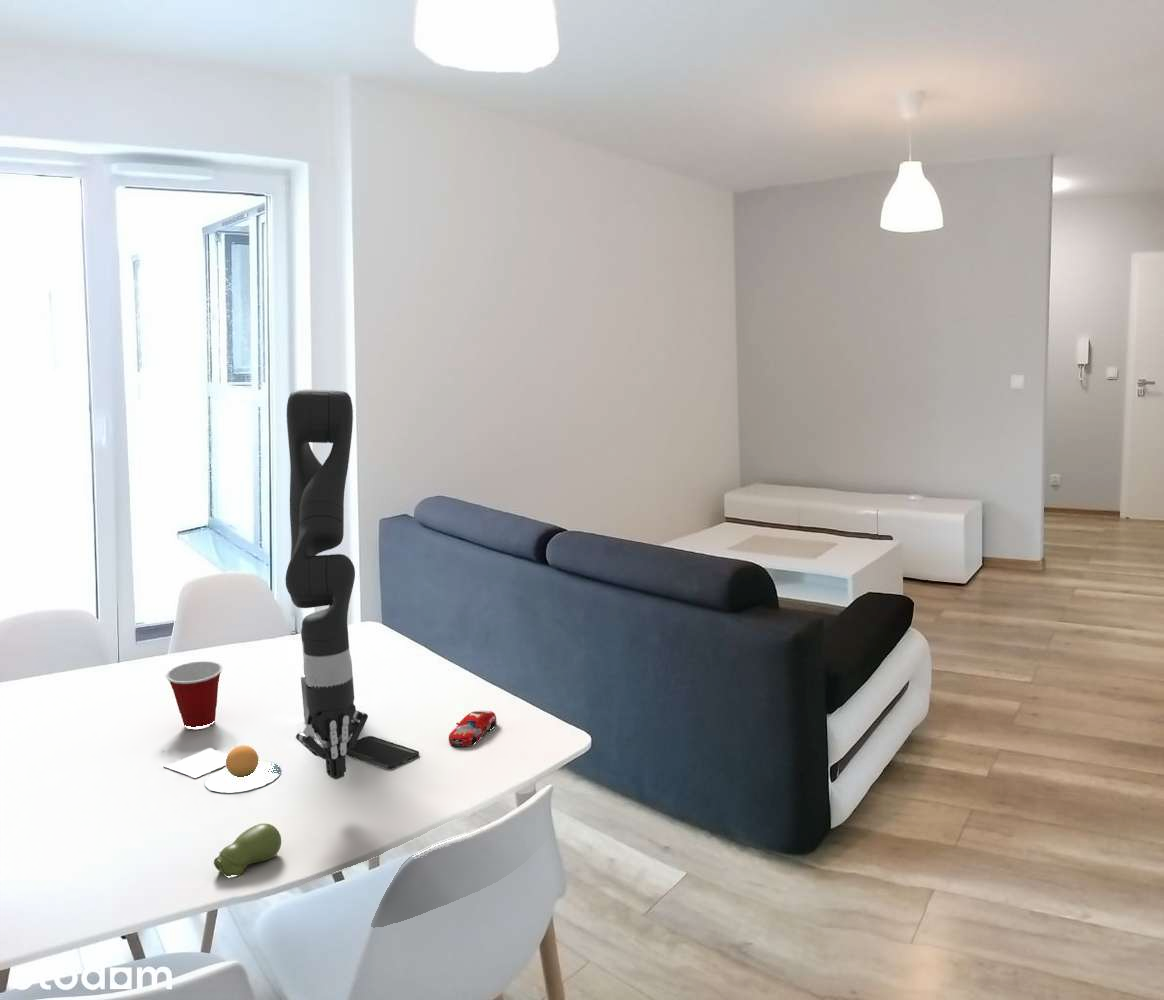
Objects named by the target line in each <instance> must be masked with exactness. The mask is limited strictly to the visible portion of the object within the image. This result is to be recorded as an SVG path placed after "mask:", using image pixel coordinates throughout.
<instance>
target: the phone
mask: <svg viewBox="0 0 1164 1000" xmlns="http://www.w3.org/2000/svg"><path fill="white" fill-rule="evenodd" d="M345 756H348V757H351V758H352V759H356V760H358V759H359V760H360V761H361V762H364V763H368V764H370V765H373V766H375V767H376V766H377V767H378V768H382V769H385V770H393V769H396V768H398V767H401V766H403V765H404V764H405V763H409V762H411V761H414V760H416V759H418V758H419V757H420V752H419V750H416V749H412V748H410V747H406V746H404V745H401V744H398V743H394V742H391V741H389V740H386V739H382V738H379V737H376V736H373V735H367V736H364V737H361V738H358V740H357V742H356V744H355V746H354V747H353V748H349V749H348V750H347V752H346V754H345ZM415 758H416V759H415ZM413 759H414V760H413Z"/></svg>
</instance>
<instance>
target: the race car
mask: <svg viewBox="0 0 1164 1000" xmlns="http://www.w3.org/2000/svg"><path fill="white" fill-rule="evenodd" d="M455 724H456V725H457V726H456V727H455V728H454V729H453V730H452V731H451V732H450V733H449V734H448V742H449V744H450V745H452V746H455V747H472V746H471V745H473V744H474V743H475V742H476V743H477V741H478V740H479V739H480V738H481V737H482V738H484V737H485V736H486V735H487V734H488V733H487V732H489V731H490V729H492V728H493V727H494V726H495V727H496V726H497V715H496V714H495V712H493V711H491V710H484V709H483V710H476V711H475V710H474V711H471V712H469V713H468V714H467V715H465V716H464V717H463V718H462V719H461V720H460V722H456V723H455ZM492 730H493V729H492ZM490 732H491V731H490ZM490 732H489V733H490ZM486 733H487V734H486ZM485 734H486V735H485ZM484 735H485V736H484ZM483 736H484V737H483ZM482 738H481V739H482ZM481 739H480V740H481ZM480 740H479V741H480ZM479 741H478V742H479ZM474 745H475V744H474ZM474 745H473V746H474Z"/></svg>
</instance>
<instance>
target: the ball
mask: <svg viewBox="0 0 1164 1000" xmlns="http://www.w3.org/2000/svg"><path fill="white" fill-rule="evenodd" d="M228 753H229V754H228V756H227V759H226V766H227V769H228V771H229V772H230V773H231V774H232V775H234V776H237V777H244V776H248V775H250V774H251V773H253V772H254V771H255V769H256V767H257V765H258V761H259V754H258V753H257V752H256V750H255V749H254V748H253V747H251V746H249V745H238V746H235V747H234V748H233V749H231V750H230V751H229V752H228ZM226 766H225V767H226Z"/></svg>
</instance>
